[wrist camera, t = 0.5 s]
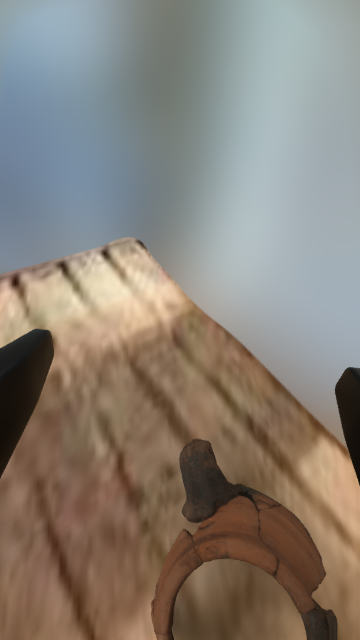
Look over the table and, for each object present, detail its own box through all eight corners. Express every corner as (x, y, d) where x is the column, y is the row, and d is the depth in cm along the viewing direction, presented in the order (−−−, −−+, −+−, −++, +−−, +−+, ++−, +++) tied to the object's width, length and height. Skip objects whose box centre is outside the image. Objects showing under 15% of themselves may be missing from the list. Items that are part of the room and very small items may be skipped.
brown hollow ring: (342, 592, 19) (413, 726, 11) (208, 659, 19) (185, 834, 11) (242, 411, 23) (243, 415, 15) (132, 470, 23) (76, 504, 15)
